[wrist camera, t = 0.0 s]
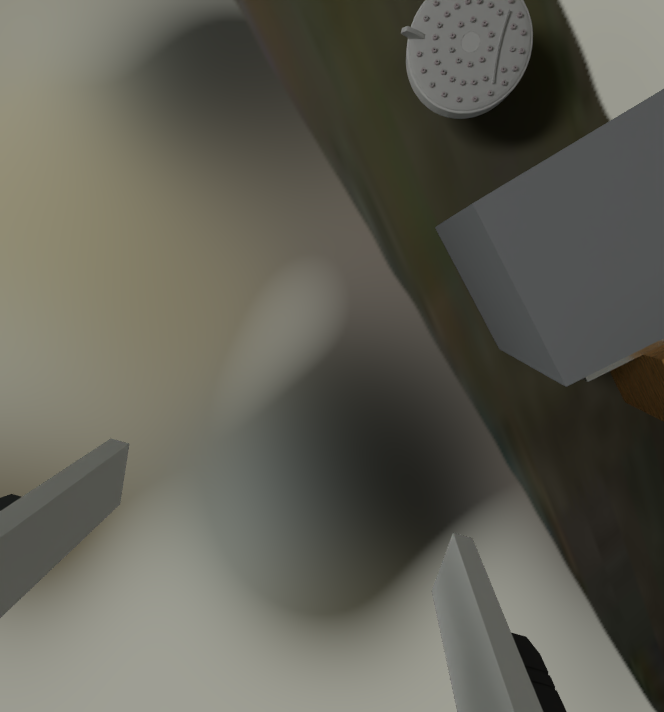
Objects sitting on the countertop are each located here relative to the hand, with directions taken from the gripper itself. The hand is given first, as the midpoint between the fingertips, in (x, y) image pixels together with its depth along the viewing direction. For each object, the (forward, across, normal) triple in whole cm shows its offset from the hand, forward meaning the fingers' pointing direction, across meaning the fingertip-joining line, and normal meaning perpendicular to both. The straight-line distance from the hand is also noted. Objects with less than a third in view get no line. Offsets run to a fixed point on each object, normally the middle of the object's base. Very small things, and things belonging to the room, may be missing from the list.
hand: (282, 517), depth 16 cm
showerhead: (+28, +4, +28) cm, 40 cm away
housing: (+28, +16, +16) cm, 36 cm away
